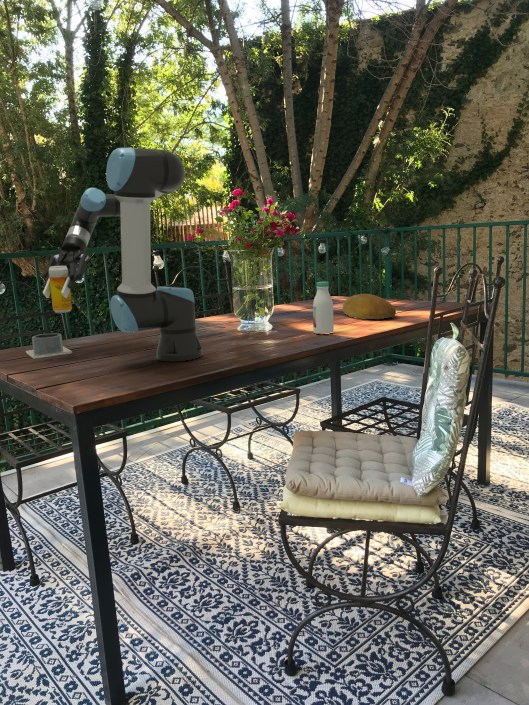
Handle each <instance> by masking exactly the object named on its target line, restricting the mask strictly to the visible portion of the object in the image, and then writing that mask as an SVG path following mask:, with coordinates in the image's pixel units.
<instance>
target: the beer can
mask: <svg viewBox="0 0 529 705" xmlns="http://www.w3.org/2000/svg"><path fill="white" fill-rule="evenodd" d="M69 275H70V273H69V269H68V267H67V266H52V267H49V279H50V288H51V294H50V296H51V303H52V305H51V306H52V311H54V313H56V314H58V313H60V314H64V313H69V312H71V311H72V309H73V304H72V294H71V290H70V291H69V294H68V297H67V298H65V297H64V296H63V295H62V293H61V292H62V289H63V287H64V284H65V282H66V279H67V277H70V276H69Z"/></svg>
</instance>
